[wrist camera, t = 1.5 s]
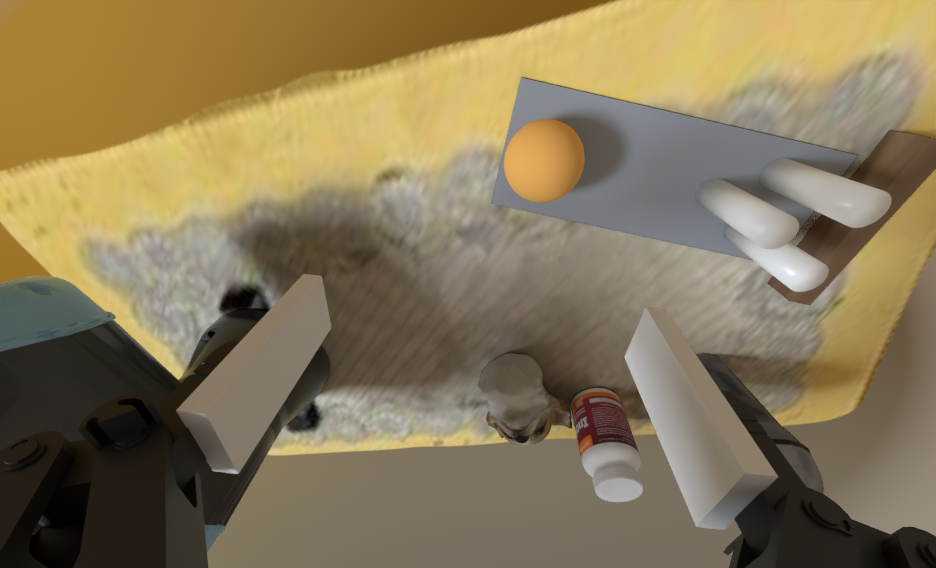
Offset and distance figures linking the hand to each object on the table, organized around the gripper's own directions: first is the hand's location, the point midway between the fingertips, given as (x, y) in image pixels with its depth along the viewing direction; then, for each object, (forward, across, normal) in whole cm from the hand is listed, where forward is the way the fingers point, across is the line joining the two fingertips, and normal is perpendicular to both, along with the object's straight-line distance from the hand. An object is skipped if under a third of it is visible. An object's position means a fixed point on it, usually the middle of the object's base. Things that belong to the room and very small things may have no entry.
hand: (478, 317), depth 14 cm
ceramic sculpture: (+20, +6, -25) cm, 32 cm away
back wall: (+19, +30, 0) cm, 35 cm away
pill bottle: (+19, +16, -27) cm, 37 cm away
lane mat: (+19, +14, +2) cm, 24 cm away
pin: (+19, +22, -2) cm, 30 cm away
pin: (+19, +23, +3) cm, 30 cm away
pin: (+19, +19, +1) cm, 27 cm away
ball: (+16, +4, +3) cm, 17 cm away
